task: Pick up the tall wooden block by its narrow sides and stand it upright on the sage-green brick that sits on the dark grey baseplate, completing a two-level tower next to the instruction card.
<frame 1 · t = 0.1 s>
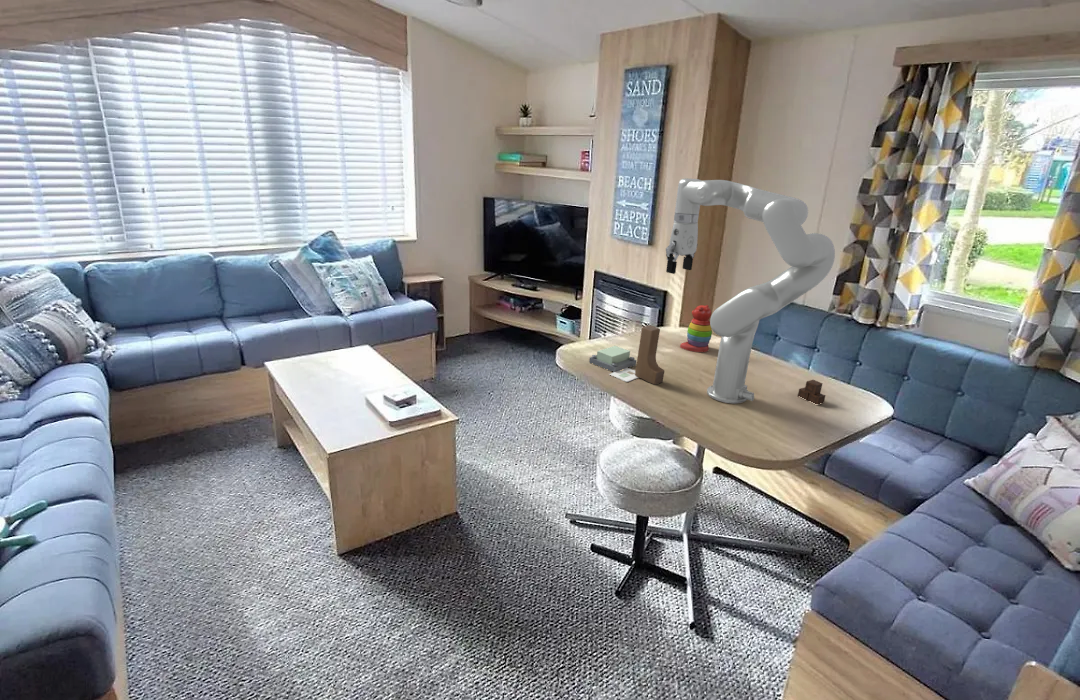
hand: (678, 271, 188), 37 cm above the table, tool pointing down, fingers open, 9 cm apart
instruction card: (627, 375, 197), on the table
stack of crates: (812, 401, 186), on the table
stacking bear: (696, 348, 227), on the table
wooden block: (648, 379, 195), on the table, touching instruction card
baseplate: (612, 363, 207), on the table
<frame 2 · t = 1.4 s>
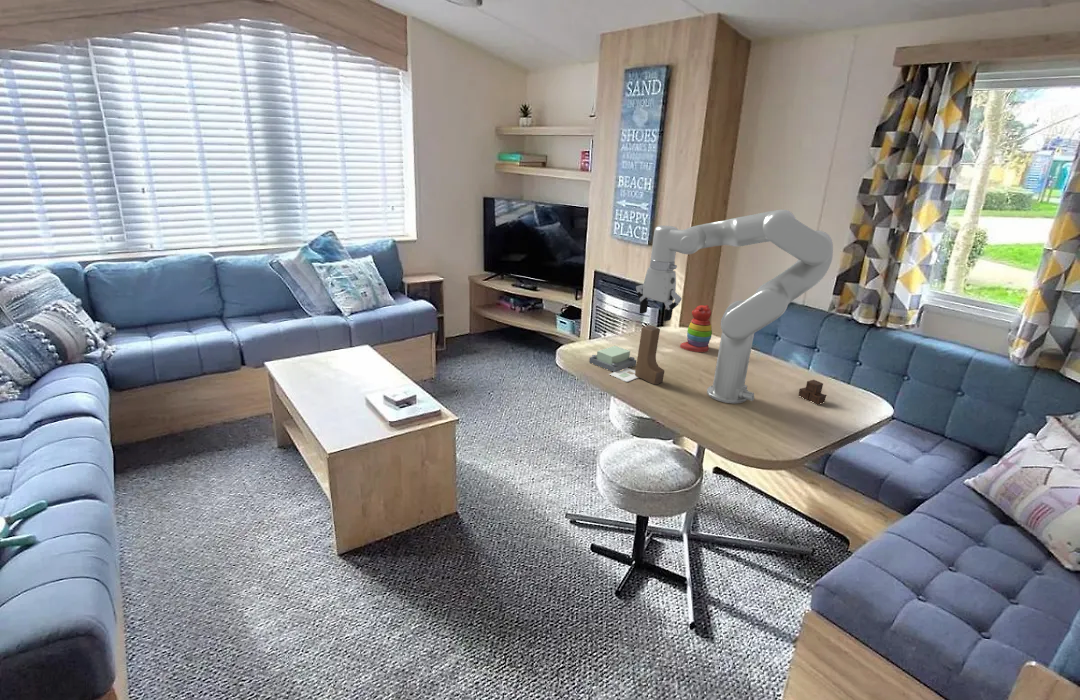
hand: (654, 316, 187), 22 cm above the table, tool pointing down, fingers open, 9 cm apart
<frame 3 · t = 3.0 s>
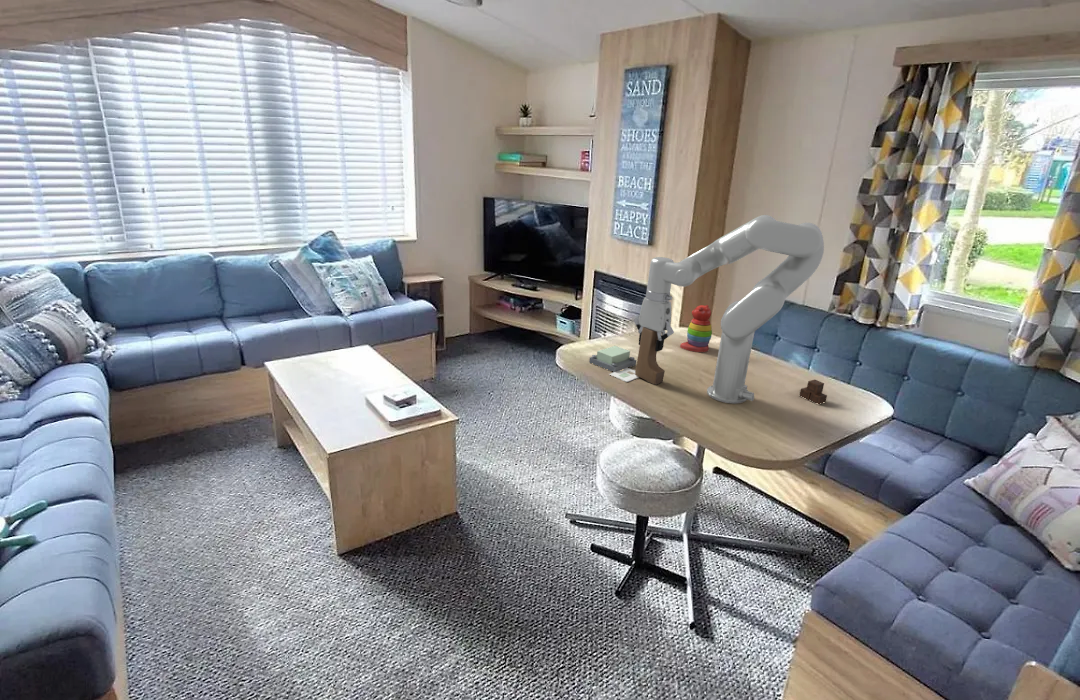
hand: (650, 347, 191), 12 cm above the table, tool pointing down, fingers open, 6 cm apart
wooden block: (648, 379, 195), on the table, touching gripper
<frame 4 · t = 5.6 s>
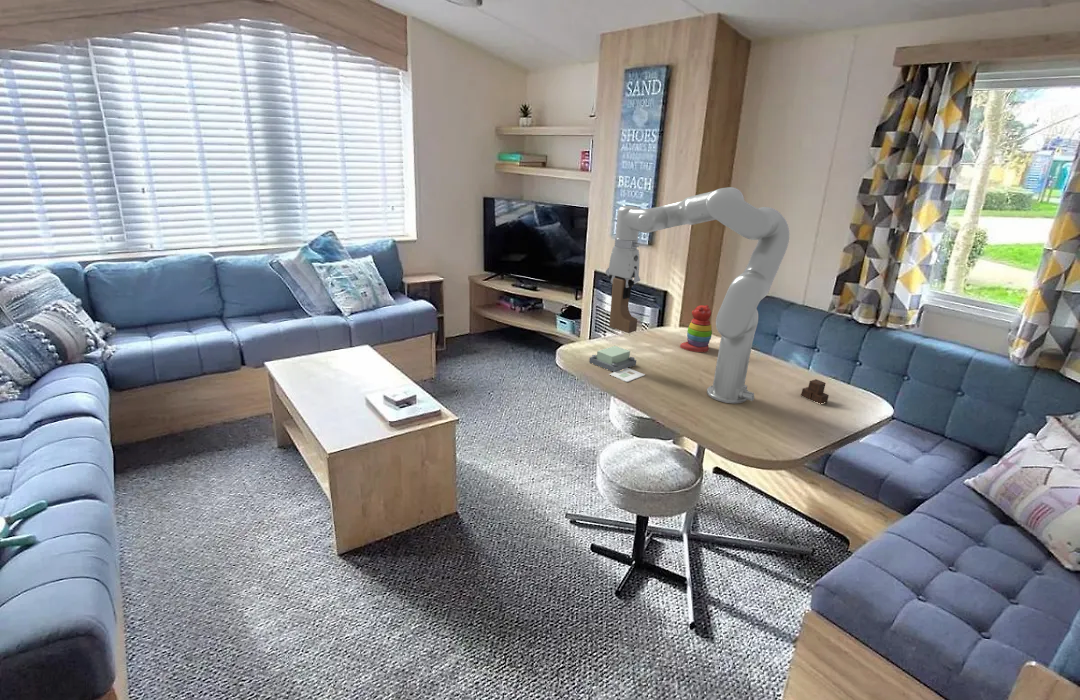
hand: (620, 295, 197), 26 cm above the table, tool pointing down, fingers closed on wooden block, 4 cm apart
wooden block: (622, 329, 200), point 14 cm above the table, touching gripper
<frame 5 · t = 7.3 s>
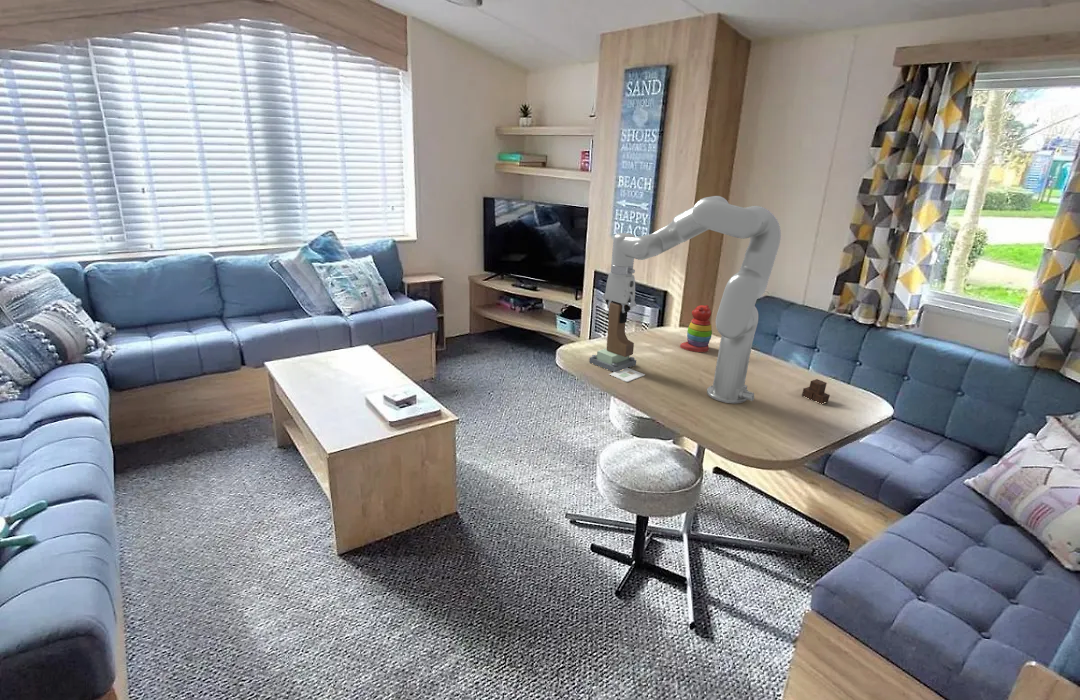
hand: (617, 320, 201), 17 cm above the table, tool pointing down, fingers closed on wooden block, 4 cm apart
wooden block: (619, 353, 204), point 5 cm above the table, touching gripper
when the fingers open (17 cm above the table, at t = 8.0 s): wooden block stays where it is, resting on baseplate.
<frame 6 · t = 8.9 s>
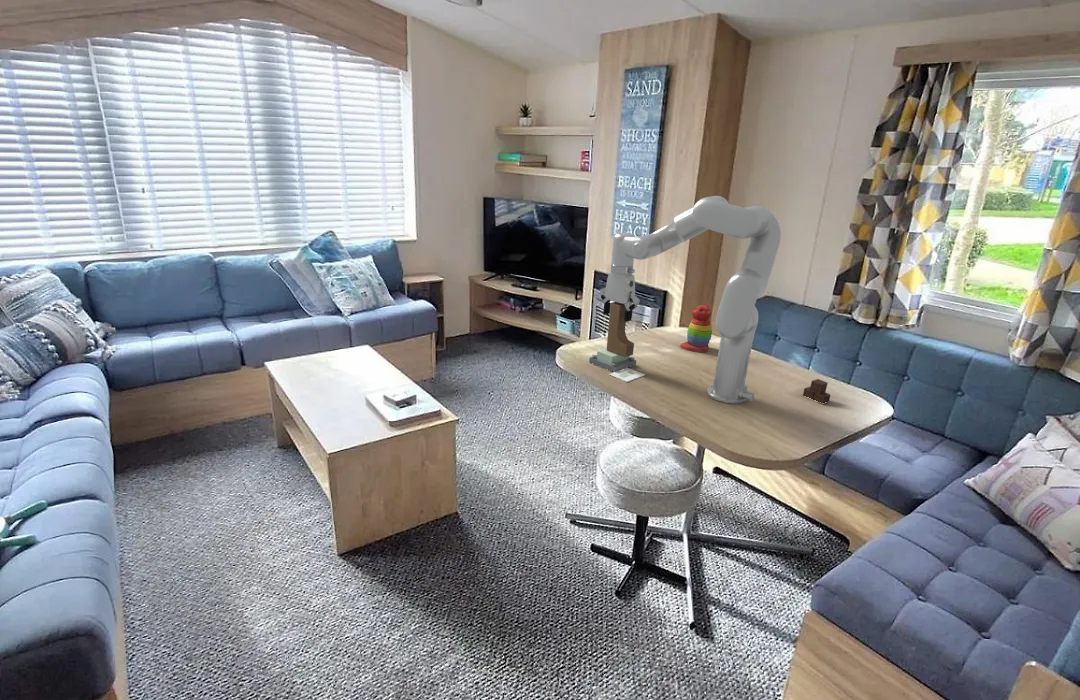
hand: (617, 317, 201), 18 cm above the table, tool pointing down, fingers open, 9 cm apart
wooden block: (619, 353, 204), point 5 cm above the table, touching baseplate
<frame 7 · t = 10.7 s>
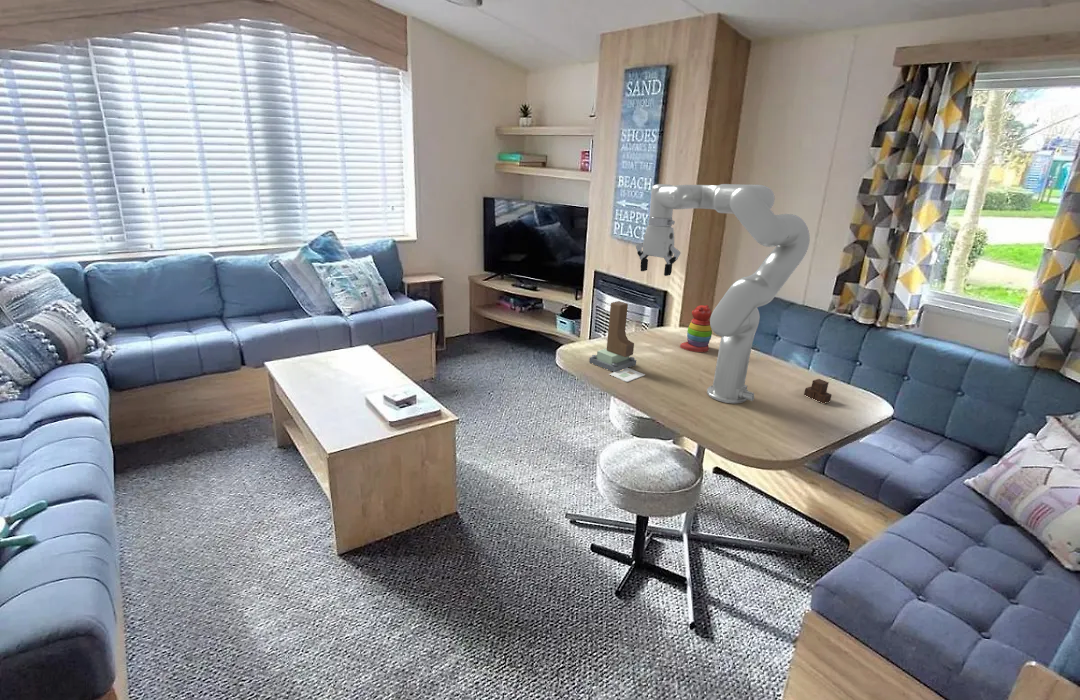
hand: (655, 273, 196), 34 cm above the table, tool pointing down, fingers open, 9 cm apart
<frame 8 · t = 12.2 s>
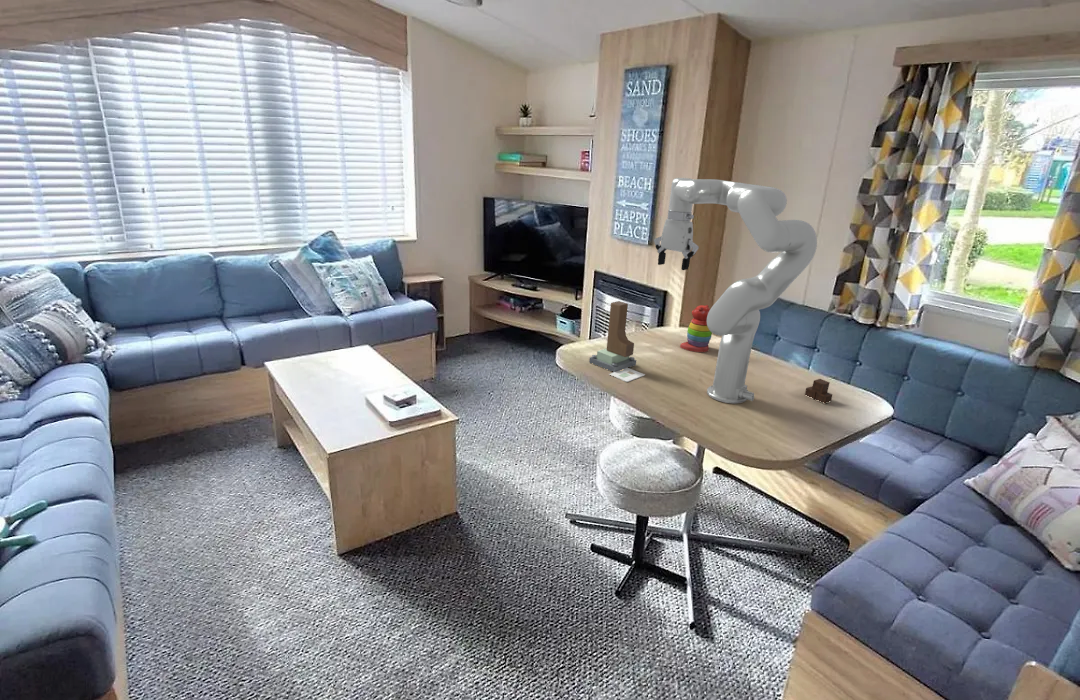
hand: (672, 267, 196), 36 cm above the table, tool pointing down, fingers open, 9 cm apart
at the end: wooden block inside the target area on the baseplate (2.4 cm from its centre), point 4.8 cm above the baseplate's base; wooden block tilted 0°; the gripper is holding nothing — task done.
